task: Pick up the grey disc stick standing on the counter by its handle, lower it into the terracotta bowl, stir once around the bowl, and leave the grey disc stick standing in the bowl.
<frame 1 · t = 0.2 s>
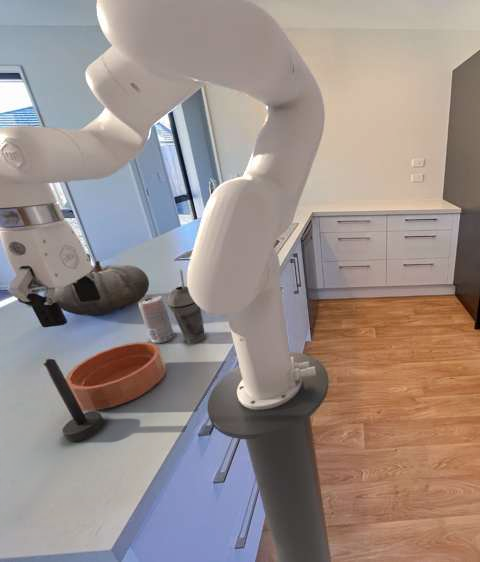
hand: (74, 312, 54), 21 cm above the worktop, tool pointing down, fingers open, 9 cm apart
gourd: (108, 308, 102), on the worktop
energy drink: (163, 338, 83), on the worktop
grey disc stick: (86, 430, 55), on the worktop
beverage cup: (195, 339, 83), on the worktop
bowl: (125, 385, 66), on the worktop
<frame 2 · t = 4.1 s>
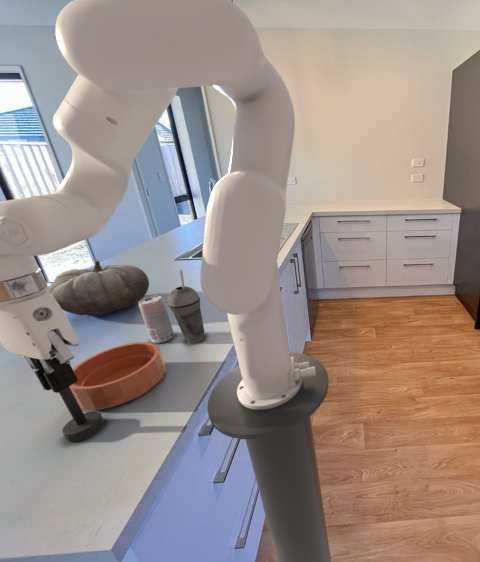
hand: (61, 385, 51), 11 cm above the worktop, tool pointing down, fingers closed on grey disc stick
grey disc stick: (86, 430, 55), on the worktop, touching gripper
everything else where it was.
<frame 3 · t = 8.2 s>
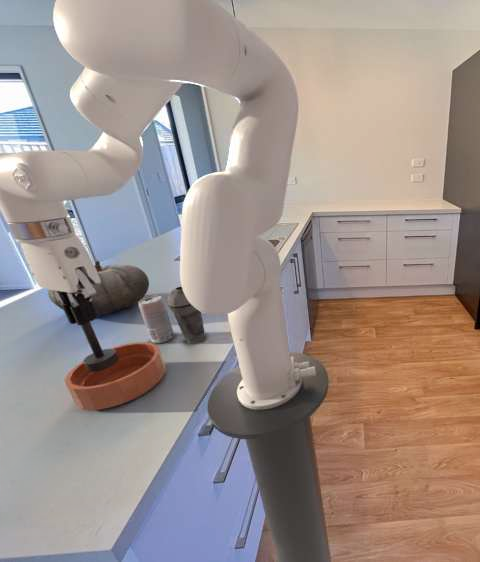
hand: (84, 320, 59), 17 cm above the worktop, tool pointing down, fingers closed on grey disc stick
grey disc stick: (103, 363, 63), point 6 cm above the worktop, touching gripper
everything else where it was.
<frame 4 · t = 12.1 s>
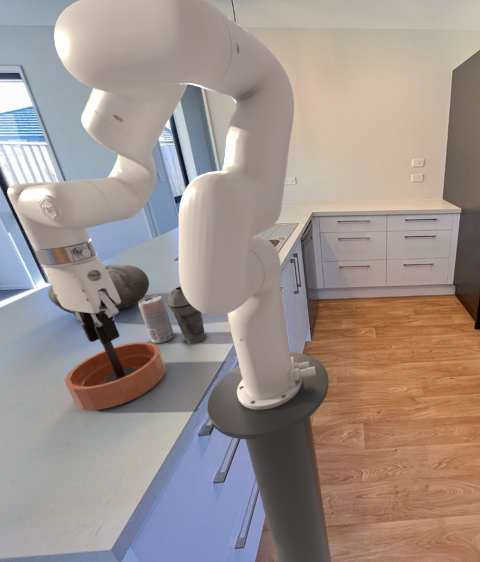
hand: (104, 338, 61), 12 cm above the worktop, tool pointing down, fingers closed
grey disc stick: (124, 382, 66), point 1 cm above the worktop, touching bowl
everything else where it was.
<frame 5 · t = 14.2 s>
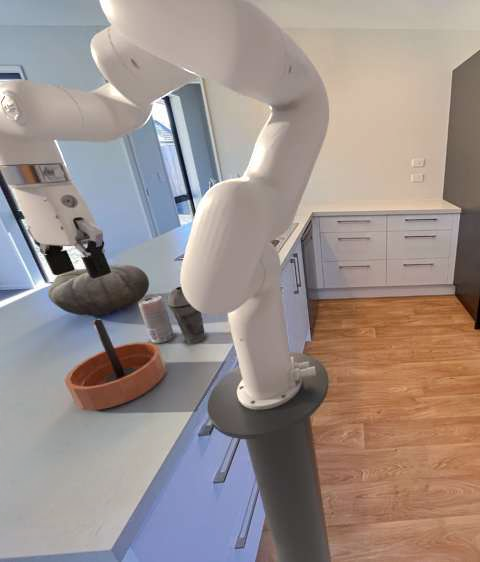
hand: (82, 274, 56), 26 cm above the worktop, tool pointing down, fingers open, 9 cm apart
nothing on the worktop moved.
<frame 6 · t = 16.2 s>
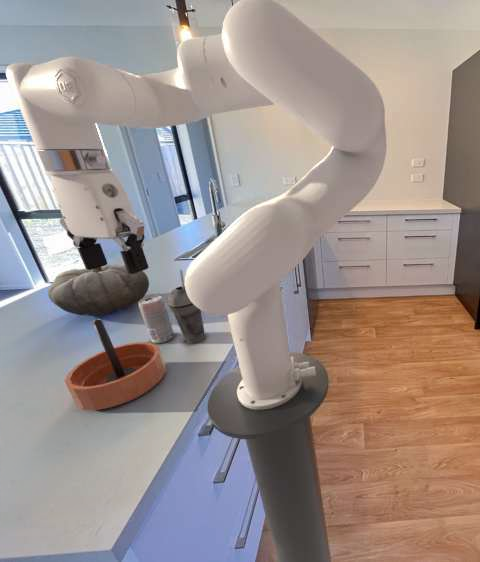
hand: (117, 269, 52), 28 cm above the worktop, tool pointing down, fingers open, 9 cm apart
nothing on the worktop moved.
at the end: grey disc stick inside the target area in the bowl (0.1 cm from its centre), point 0.8 cm above the bowl's base; grey disc stick tilted 0°; the gripper is holding nothing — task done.
